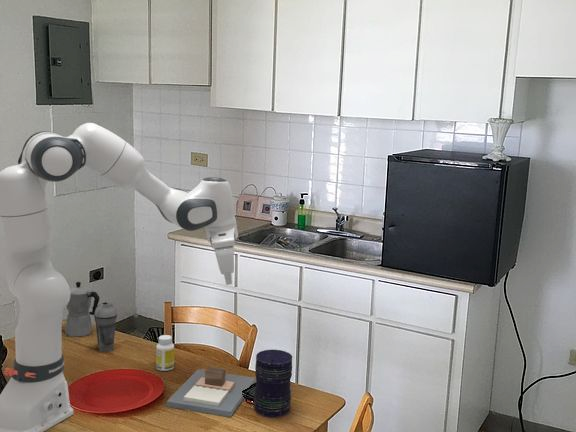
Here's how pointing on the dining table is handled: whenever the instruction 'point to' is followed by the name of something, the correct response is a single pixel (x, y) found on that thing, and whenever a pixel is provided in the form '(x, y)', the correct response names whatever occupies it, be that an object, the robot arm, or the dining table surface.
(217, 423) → the dining table surface
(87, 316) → the coffeepot
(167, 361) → the supplement bottle
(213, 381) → the brown and pink block
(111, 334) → the beverage cup
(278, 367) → the storage jar
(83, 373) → the dining table surface
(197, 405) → the board
